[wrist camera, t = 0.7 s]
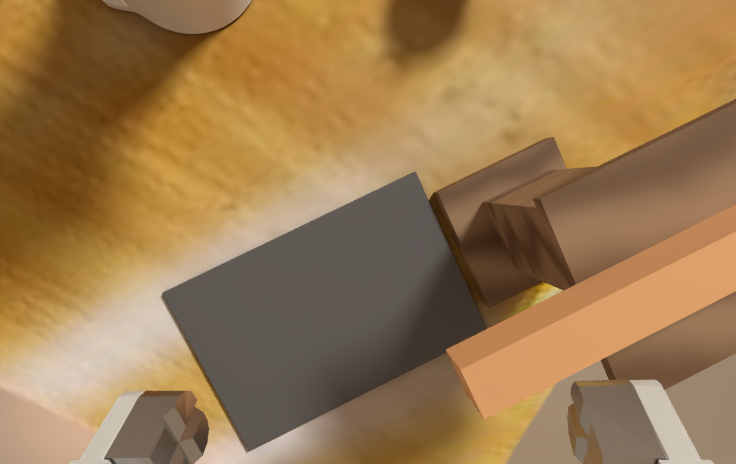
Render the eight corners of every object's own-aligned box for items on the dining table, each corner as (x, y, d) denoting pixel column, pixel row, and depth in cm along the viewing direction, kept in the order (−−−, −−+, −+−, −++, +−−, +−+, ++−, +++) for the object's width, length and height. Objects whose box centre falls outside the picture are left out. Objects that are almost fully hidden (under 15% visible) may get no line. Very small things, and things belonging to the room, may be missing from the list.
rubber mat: (164, 292, 51) (162, 293, 50) (414, 171, 52) (415, 171, 52) (249, 448, 53) (248, 451, 53) (486, 329, 55) (488, 331, 54)
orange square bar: (445, 349, 27) (460, 369, 24) (746, 199, 28) (797, 200, 25) (466, 394, 28) (483, 419, 25) (763, 244, 28) (814, 250, 25)
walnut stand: (433, 192, 53) (540, 198, 27) (545, 138, 53) (753, 94, 27) (483, 303, 54) (628, 408, 29) (590, 249, 55) (827, 306, 29)
